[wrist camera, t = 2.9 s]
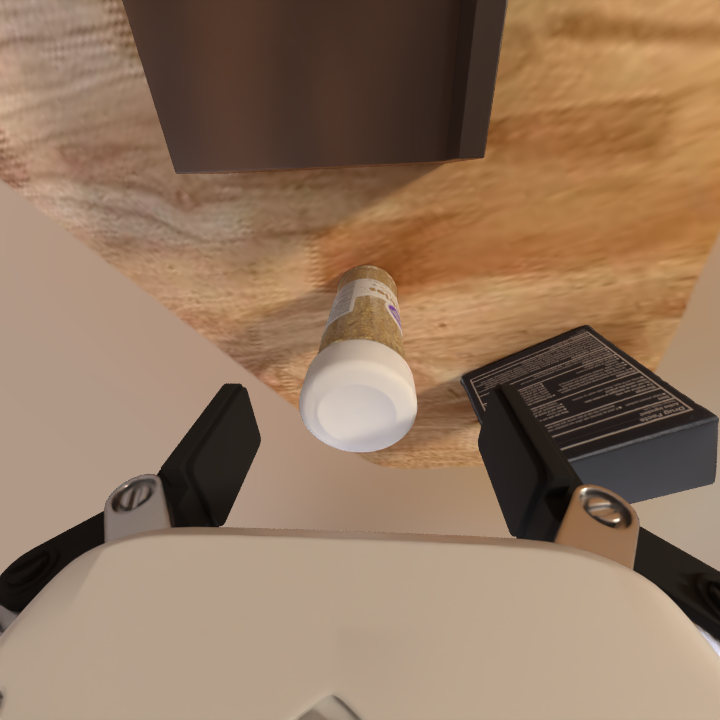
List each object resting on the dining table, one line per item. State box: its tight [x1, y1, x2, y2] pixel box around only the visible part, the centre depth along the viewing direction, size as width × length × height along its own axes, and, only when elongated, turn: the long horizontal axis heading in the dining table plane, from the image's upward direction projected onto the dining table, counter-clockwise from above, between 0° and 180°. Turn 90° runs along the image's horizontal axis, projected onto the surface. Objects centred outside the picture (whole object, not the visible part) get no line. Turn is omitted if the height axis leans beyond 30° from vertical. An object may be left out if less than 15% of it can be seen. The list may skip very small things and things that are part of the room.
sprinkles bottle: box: [299, 265, 417, 452], centre depth 17 cm, size 5×5×14 cm
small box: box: [460, 325, 719, 504], centre depth 21 cm, size 11×6×10 cm, turn 121°
